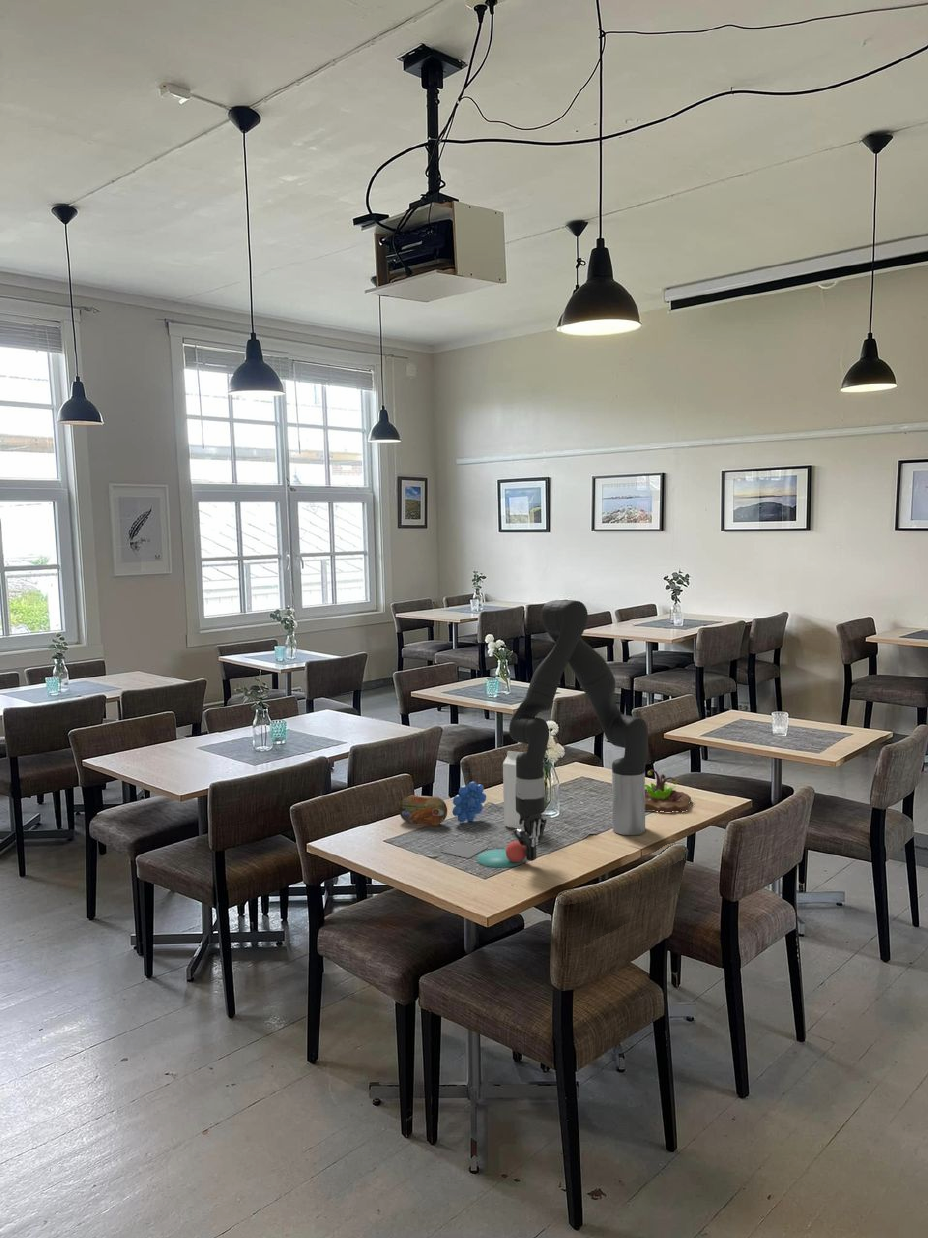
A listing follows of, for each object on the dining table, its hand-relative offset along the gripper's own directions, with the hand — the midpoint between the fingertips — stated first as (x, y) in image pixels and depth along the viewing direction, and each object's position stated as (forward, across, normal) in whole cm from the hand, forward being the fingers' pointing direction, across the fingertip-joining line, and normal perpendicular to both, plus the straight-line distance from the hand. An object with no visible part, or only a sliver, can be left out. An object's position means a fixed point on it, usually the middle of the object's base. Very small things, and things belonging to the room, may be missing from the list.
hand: (531, 859), depth 224 cm
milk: (+2, -26, -20) cm, 33 cm away
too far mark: (+2, 0, -21) cm, 21 cm away
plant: (+2, -67, +7) cm, 67 cm away
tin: (+2, -13, -45) cm, 47 cm away
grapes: (+2, -22, -35) cm, 42 cm away
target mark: (+2, 0, -9) cm, 9 cm away
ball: (-1, 0, -4) cm, 5 cm away
